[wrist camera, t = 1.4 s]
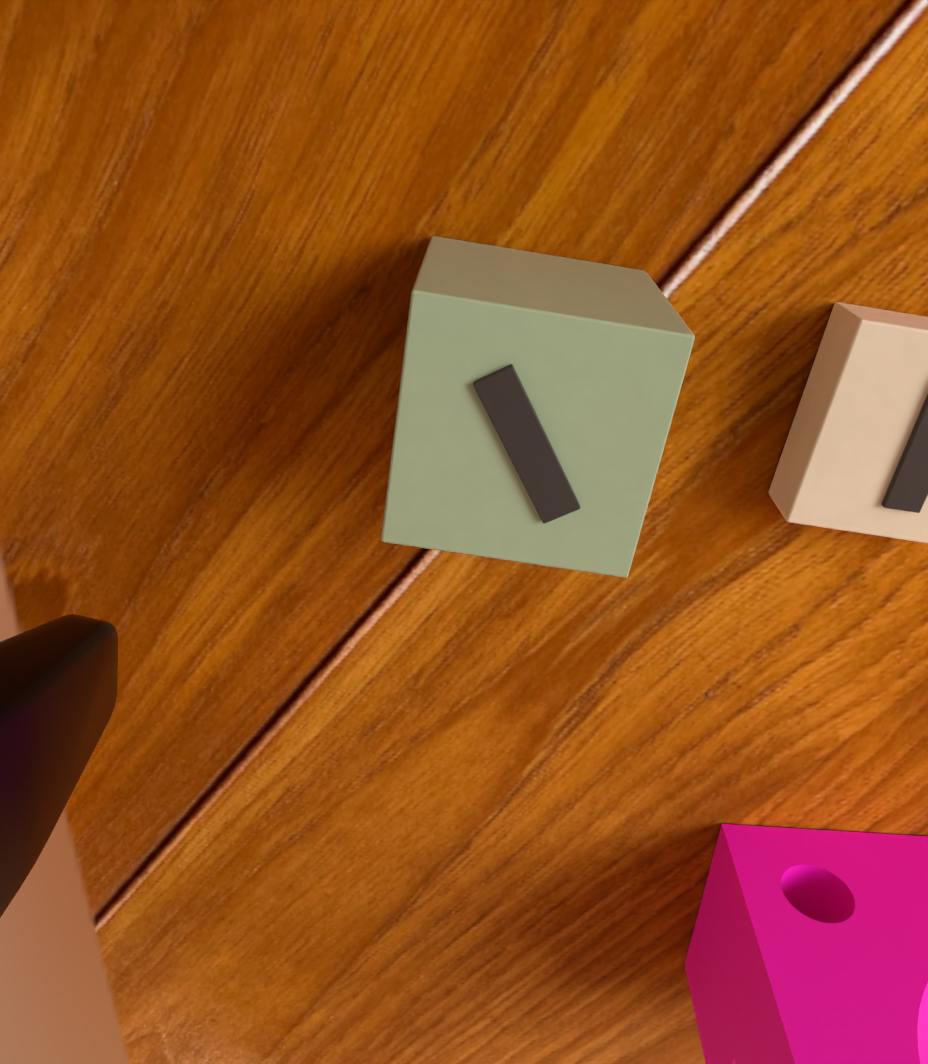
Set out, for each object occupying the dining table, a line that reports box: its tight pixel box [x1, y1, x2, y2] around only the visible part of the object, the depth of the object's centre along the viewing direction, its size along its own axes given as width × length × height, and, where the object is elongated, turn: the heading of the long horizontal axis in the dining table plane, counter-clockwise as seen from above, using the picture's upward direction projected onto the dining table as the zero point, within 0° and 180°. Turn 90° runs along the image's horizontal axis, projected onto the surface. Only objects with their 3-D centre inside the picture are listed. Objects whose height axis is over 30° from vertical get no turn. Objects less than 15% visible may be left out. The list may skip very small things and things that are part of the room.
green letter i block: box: [381, 236, 695, 577], centre depth 17 cm, size 4×4×5 cm
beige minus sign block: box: [768, 302, 928, 543], centre depth 19 cm, size 4×4×2 cm
